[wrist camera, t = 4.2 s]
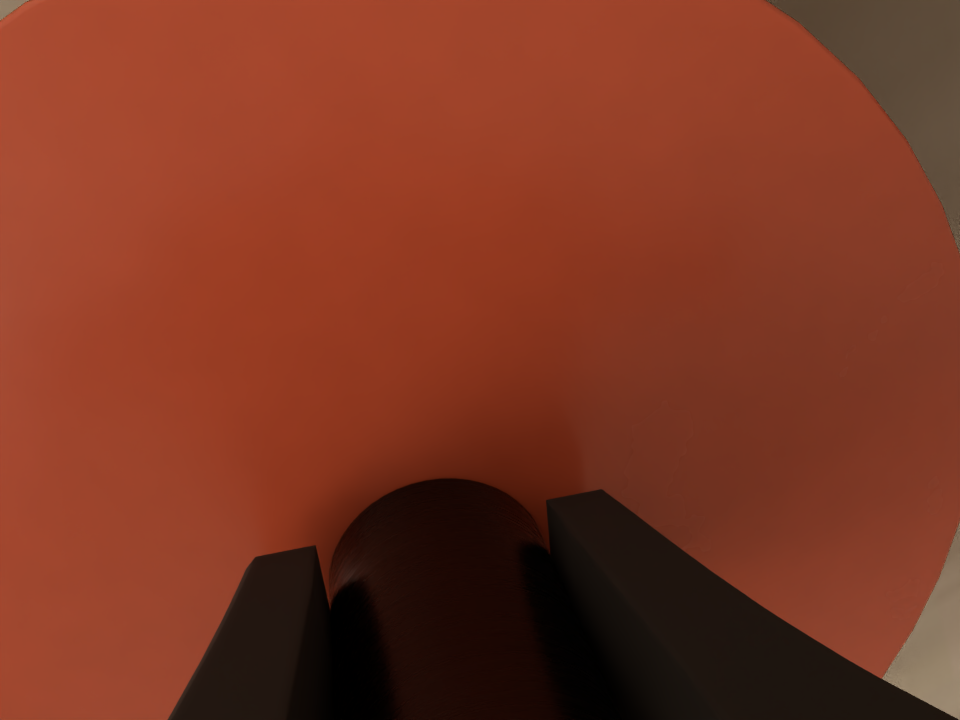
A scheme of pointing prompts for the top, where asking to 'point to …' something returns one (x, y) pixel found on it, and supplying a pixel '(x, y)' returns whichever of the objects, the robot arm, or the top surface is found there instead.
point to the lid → (452, 336)
